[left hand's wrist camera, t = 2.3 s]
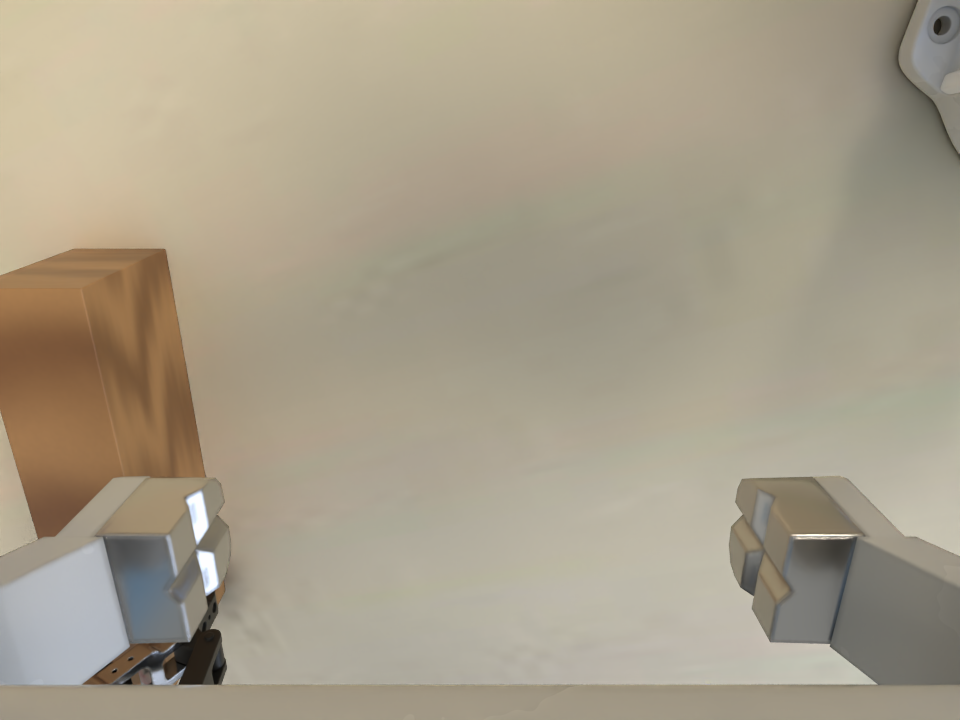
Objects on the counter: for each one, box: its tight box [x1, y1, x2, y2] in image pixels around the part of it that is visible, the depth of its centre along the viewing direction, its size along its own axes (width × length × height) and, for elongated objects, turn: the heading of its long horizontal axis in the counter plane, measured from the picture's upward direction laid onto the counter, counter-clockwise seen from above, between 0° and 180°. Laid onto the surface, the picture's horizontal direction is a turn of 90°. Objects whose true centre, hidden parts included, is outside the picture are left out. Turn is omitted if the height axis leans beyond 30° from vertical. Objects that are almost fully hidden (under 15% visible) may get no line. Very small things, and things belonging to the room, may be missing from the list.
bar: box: [0, 249, 225, 685], centre depth 38 cm, size 24×5×9 cm, turn 0°
